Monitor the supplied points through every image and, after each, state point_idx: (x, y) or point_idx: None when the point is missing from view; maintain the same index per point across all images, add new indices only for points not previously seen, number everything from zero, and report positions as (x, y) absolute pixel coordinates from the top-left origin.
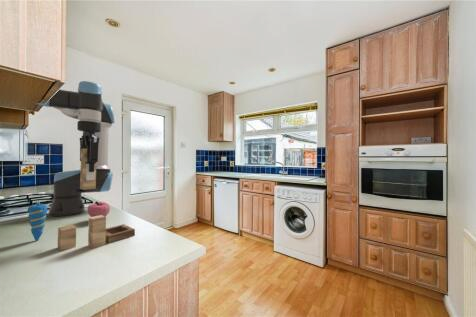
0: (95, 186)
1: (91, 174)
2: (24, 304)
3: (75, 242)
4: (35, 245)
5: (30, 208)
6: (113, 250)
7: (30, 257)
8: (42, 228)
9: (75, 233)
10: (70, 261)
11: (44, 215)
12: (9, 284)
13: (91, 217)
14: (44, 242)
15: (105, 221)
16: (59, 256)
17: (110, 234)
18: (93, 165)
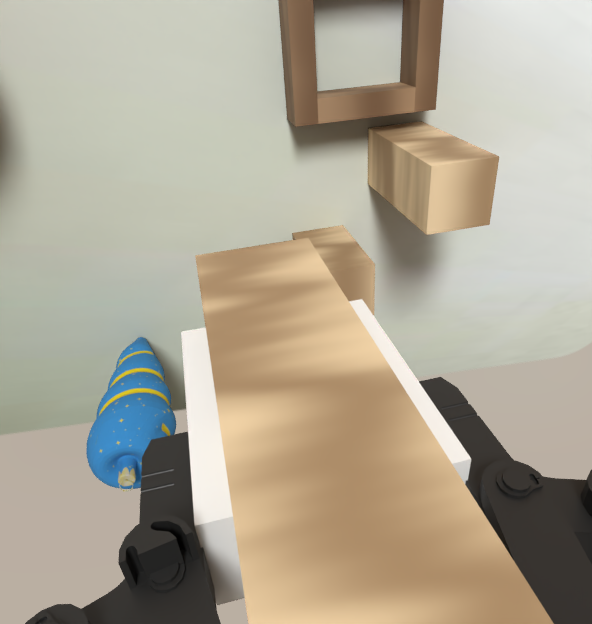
0: (313, 249)
1: None
2: (581, 333)
3: (348, 234)
4: None
5: None
6: (510, 112)
7: None
8: (152, 357)
9: (363, 252)
10: (464, 252)
11: (157, 397)
12: (468, 363)
13: (436, 223)
14: (189, 316)
15: (483, 152)
16: (393, 276)
17: (413, 93)
18: (501, 455)
